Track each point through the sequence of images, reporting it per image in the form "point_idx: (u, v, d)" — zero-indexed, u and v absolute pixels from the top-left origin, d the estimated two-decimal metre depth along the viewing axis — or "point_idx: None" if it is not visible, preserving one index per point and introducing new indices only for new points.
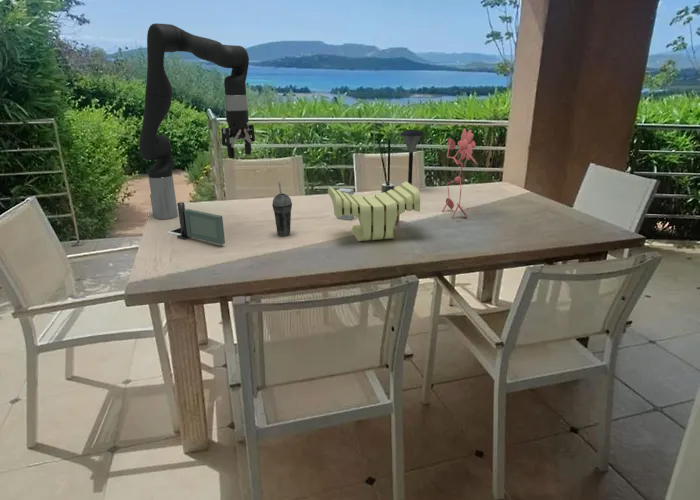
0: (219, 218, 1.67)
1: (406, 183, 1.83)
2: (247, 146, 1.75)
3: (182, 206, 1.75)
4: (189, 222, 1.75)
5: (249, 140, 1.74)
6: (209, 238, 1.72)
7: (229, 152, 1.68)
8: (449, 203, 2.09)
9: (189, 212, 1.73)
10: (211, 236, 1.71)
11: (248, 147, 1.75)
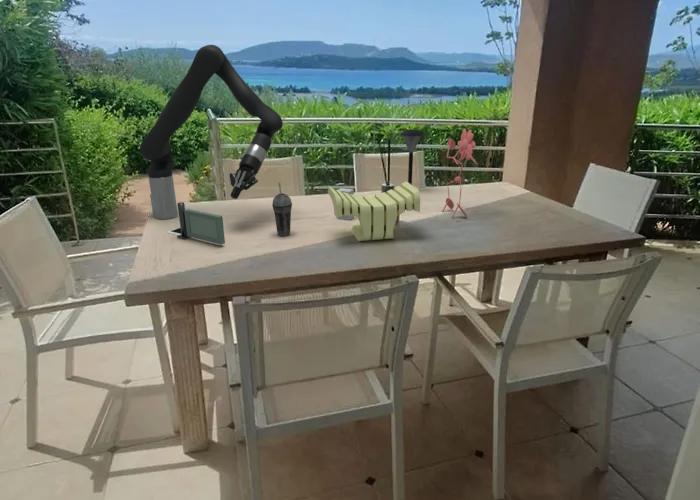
0: (219, 218, 1.67)
1: (406, 183, 1.83)
2: None
3: (182, 206, 1.75)
4: (189, 222, 1.75)
5: None
6: (209, 238, 1.72)
7: (238, 193, 1.80)
8: (449, 203, 2.09)
9: (189, 212, 1.73)
10: (211, 236, 1.71)
11: None
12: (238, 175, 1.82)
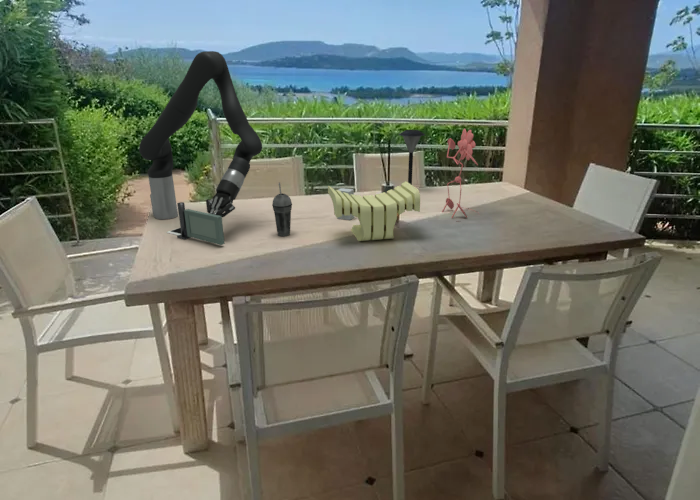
0: (218, 218, 1.66)
1: (406, 183, 1.83)
2: None
3: (182, 206, 1.75)
4: (189, 222, 1.75)
5: None
6: (209, 238, 1.72)
7: None
8: (449, 203, 2.09)
9: (189, 212, 1.73)
10: (210, 236, 1.71)
11: None
12: (215, 202, 1.74)
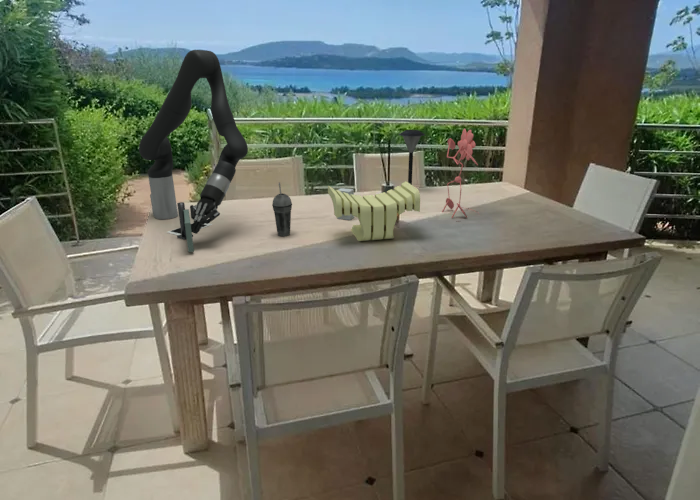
0: (186, 225, 1.60)
1: (406, 183, 1.83)
2: None
3: (182, 206, 1.75)
4: None
5: None
6: None
7: (199, 227, 1.67)
8: (449, 203, 2.09)
9: (184, 213, 1.73)
10: None
11: None
12: (199, 208, 1.68)
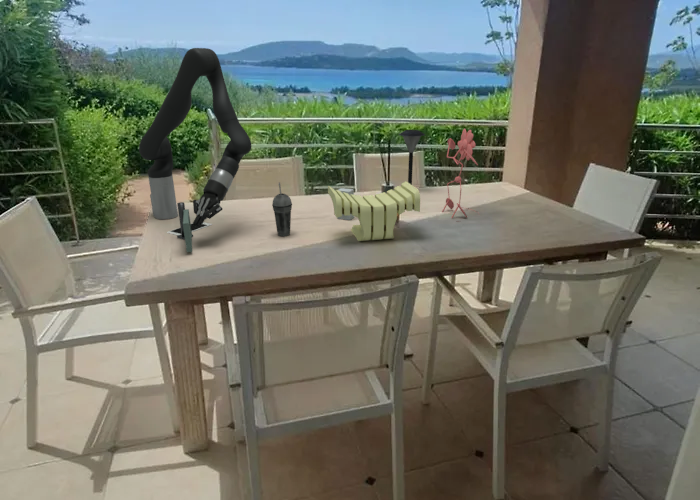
0: (184, 225, 1.60)
1: (406, 183, 1.83)
2: None
3: (182, 206, 1.75)
4: None
5: None
6: None
7: (201, 222, 1.68)
8: (449, 203, 2.09)
9: None
10: None
11: None
12: (201, 202, 1.69)
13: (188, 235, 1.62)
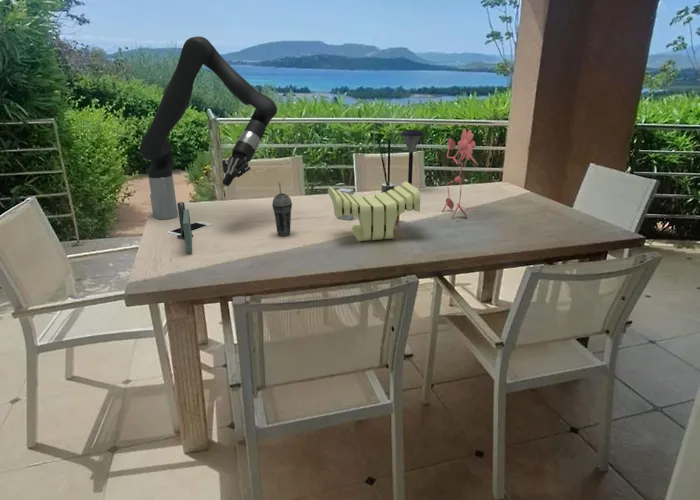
0: (184, 225, 1.60)
1: (406, 183, 1.83)
2: None
3: (182, 206, 1.75)
4: None
5: None
6: None
7: (230, 180, 1.77)
8: (449, 203, 2.09)
9: None
10: None
11: None
12: (231, 162, 1.79)
13: (188, 235, 1.62)
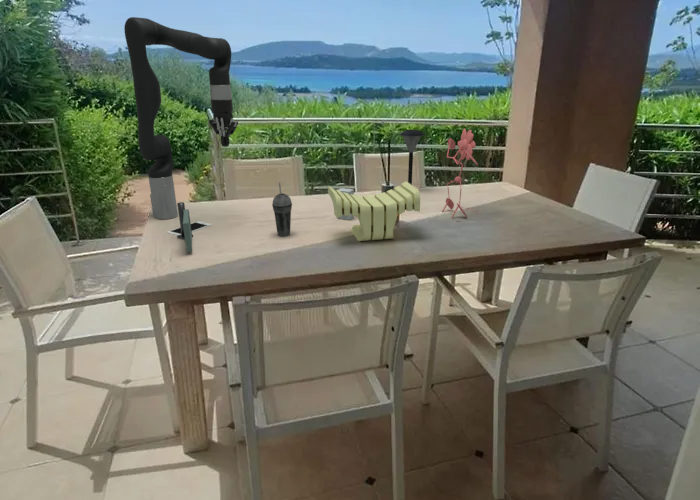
0: (184, 225, 1.60)
1: (406, 183, 1.83)
2: None
3: (182, 206, 1.75)
4: None
5: None
6: None
7: (228, 140, 1.82)
8: (449, 203, 2.09)
9: None
10: None
11: None
12: (217, 123, 1.79)
13: (188, 235, 1.62)
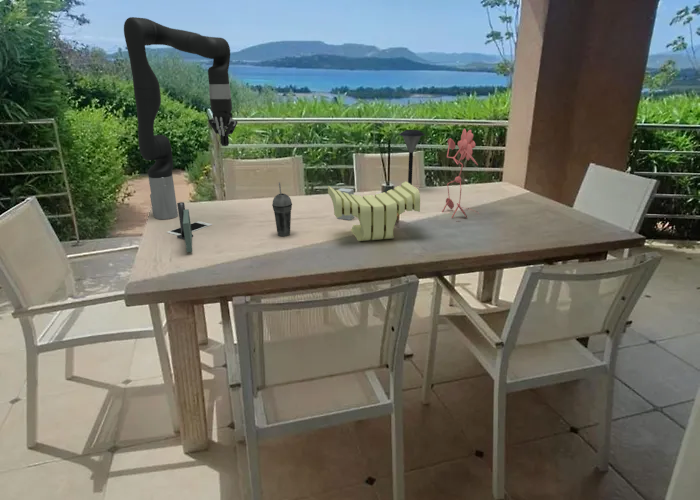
0: (184, 225, 1.60)
1: (406, 183, 1.83)
2: None
3: (182, 206, 1.75)
4: None
5: None
6: None
7: (227, 140, 1.82)
8: (449, 203, 2.09)
9: None
10: None
11: None
12: (217, 122, 1.79)
13: (188, 235, 1.62)
